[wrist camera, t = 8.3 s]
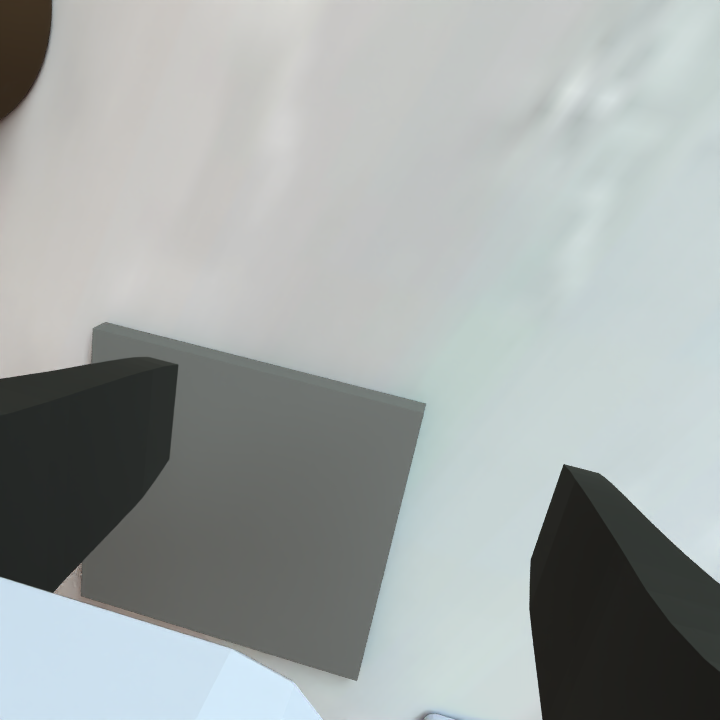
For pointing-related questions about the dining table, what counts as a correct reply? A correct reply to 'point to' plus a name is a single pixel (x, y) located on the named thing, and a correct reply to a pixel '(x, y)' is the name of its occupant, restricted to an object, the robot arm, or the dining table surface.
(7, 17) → the olive oil
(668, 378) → the dining table surface
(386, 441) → the mat
